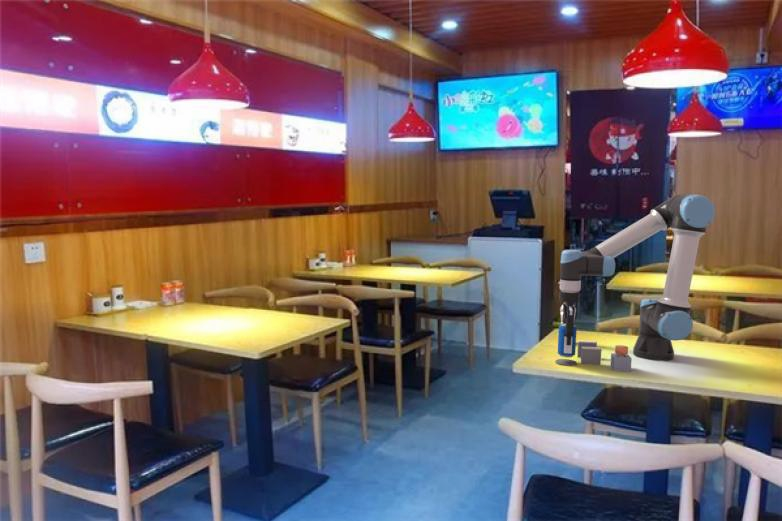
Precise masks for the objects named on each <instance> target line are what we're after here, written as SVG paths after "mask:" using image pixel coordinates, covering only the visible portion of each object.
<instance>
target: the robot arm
mask: <svg viewBox="0 0 782 521" xmlns="http://www.w3.org/2000/svg"><path fill="white" fill-rule="evenodd" d="M715 215H716V208H715V205H714V203H713V202H712V201H711V200H710V199H709V198H708V197H706V196H704V195H702V194H701V195H700V194H695V193H694V194H677V195H674V196H672V197H671V198H668V199H667V200H665V201H664V202H662V203H660V204H659V205H657V206H656V207H654V208H652V209H651V210H650V213H649V214H648V215H646V216H644V217H643V218H641V219H639V220H637V221H636V222H633V223H632V224H631V225H629V226H627V227H626V228H624V229H622V230H621V231H619V232H617V233H615V234H614V235H612V236H610V237H609V238H607V239H606V240H604V241H603V242H601V243H599V244H597V245H595V246H594V247H592V248H590V249H588V250H585V251H583V250H579V249H564V250H562V252H561V254H560V255H561V256H560V261H559V262H560V276H559V281H558V282H557V284H558V285H559V292H558V300H559V302H563V303H564V302H565V304H563V303H562V305H563V322H562V323H566V334H565V335H563V336H565V342H564V353H569V354H572V337H573V336H574V334H573V333H574V325H575V318H574V313H575V314H576V312H575V308H576V307H574V306H575V305H574V303H575V304H577V303H579V302H580V301H581V300H580V298H581V293H580V291H581V286H582V285H581V283H582V282H581V281H582V276H585V277H586V276H588V277H589V276H591V277H594V276H595V277H604V278H605V277H611V276H613V275H614V274H615V270H616V261H615V258H616V257H618V256H619V255H621V254H623V253H625V252H626V251H628V250H630V249H631V248H633V247H635V246H637V245H638V244H640V243H642V242H643V241H645V240H646V239H648V238H650V237H652V236H654V235H656V234H657V233H658V232H660V231H667V230H669V229H671V231H672V232H673V236H674V237H673V239H672V240H673V241H672V247H671V251H670V256H669V261H668V262H669V263H668V267H667V272H666V278H665V283H664V289H663V293H662V296H661V297H660V298H643V299H642V300H641V302H640V306H639V308H640V309H639V324H638V325H639V328H638V329H639V330H638V335H637V339H636V341H635V343H634V346H633V349H632V351H633V352H632V354H633V355H634V356H636V357H638V358H641V359H645V360H652V361H671V360H673V359H675V350H674V347H673V346H674V345H673V344H672V341H681V340H683V339H685V338H687V337H688V336H689V335H690V334H691V333H692V331H693V327H694V322H693V319H692V316H690V314H691V308H692V305H691V304H690V303H689V301H688V300H689V296H690V290H691V285H692V280H693V275H694V270H695V264H696V259H697V254H698V249H699V243H700V239H701V237H703V236H704V235H706V232H707V227H708V226H709V225H710V224H711V223H712V222H713V220H714V218H715ZM573 305H574V306H573Z"/></svg>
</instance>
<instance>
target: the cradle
mask: <svg viewBox="0 0 782 521" xmlns="http://www.w3.org/2000/svg"><path fill="white" fill-rule="evenodd" d="M576 357H577V358H579V357H580V364H581V365H587V366H588V365H589V366H590V365H591V366H601V364H602V347H600V346H599V347H598V342H597V340H596V341H595V340H580V339H579V340H577V355H576Z"/></svg>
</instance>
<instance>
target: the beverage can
mask: <svg viewBox="0 0 782 521" xmlns="http://www.w3.org/2000/svg"><path fill="white" fill-rule="evenodd" d="M565 334H566V323H561V322H560V323H559V326H558V337H557V338H558V339H557V340H558V341H557V354H558V355H559V356H560V357H563V358H573V357H574V356H575V355H576V346H577V344H576V343H577V326H576V324H574V333H573V334H574V336H573V337H572V354H569V353H564V342H565V336H563V335H565Z"/></svg>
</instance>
